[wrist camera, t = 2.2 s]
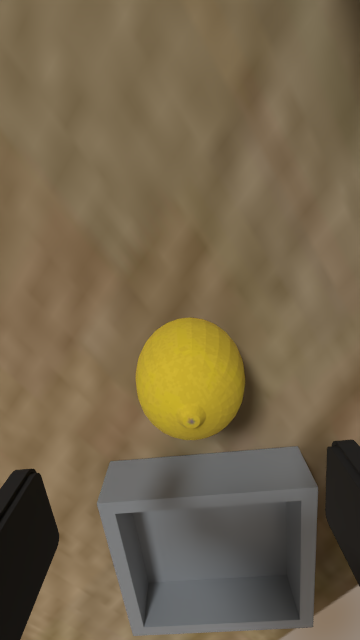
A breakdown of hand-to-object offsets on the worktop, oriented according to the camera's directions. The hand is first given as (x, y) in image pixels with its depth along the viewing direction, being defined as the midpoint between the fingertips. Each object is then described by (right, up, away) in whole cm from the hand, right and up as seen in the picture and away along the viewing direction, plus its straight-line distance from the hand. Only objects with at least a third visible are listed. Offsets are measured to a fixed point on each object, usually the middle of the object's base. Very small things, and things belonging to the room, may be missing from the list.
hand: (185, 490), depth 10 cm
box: (+2, -11, +15) cm, 18 cm away
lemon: (0, +4, +10) cm, 11 cm away
